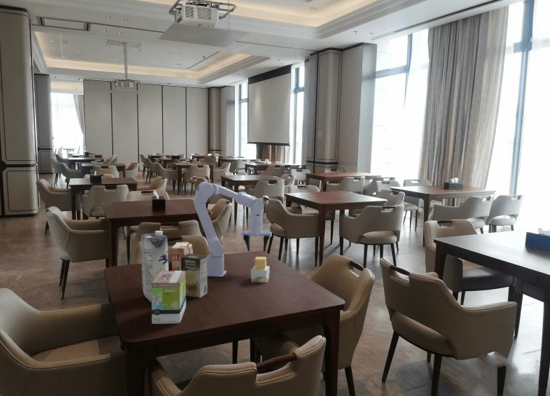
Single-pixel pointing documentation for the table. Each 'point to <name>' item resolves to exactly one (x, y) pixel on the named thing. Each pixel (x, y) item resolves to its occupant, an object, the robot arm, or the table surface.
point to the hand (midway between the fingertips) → (256, 250)
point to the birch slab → (260, 279)
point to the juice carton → (153, 259)
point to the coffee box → (195, 274)
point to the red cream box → (180, 254)
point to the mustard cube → (260, 262)
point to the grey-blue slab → (260, 272)
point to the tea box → (168, 297)
